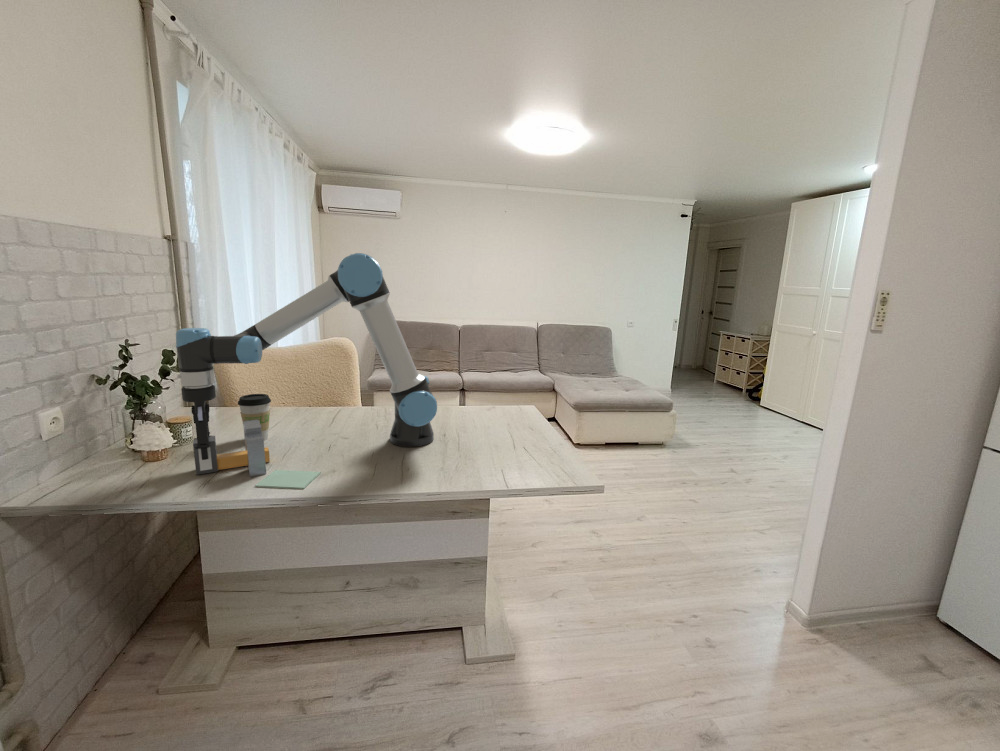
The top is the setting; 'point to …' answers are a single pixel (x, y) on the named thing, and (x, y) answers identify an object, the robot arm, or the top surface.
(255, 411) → the coffee cup
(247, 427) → the block
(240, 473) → the top surface
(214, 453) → the plug
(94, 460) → the top surface
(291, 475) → the mat
